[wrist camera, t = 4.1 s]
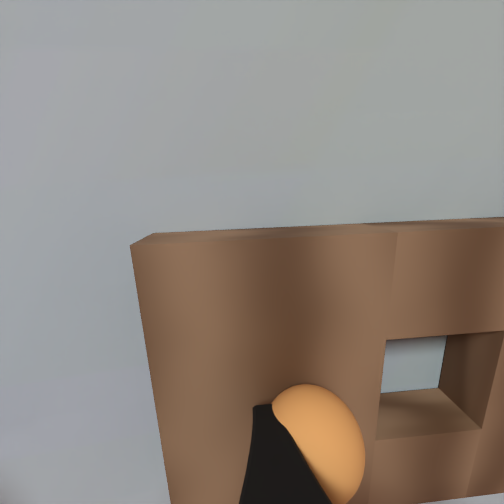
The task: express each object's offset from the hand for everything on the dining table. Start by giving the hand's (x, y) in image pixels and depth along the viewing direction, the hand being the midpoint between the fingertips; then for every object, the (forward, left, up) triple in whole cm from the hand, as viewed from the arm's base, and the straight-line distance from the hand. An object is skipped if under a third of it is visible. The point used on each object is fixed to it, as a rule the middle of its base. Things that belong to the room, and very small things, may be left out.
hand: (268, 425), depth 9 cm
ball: (+1, +1, +1) cm, 2 cm away
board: (+4, +2, -3) cm, 5 cm away
